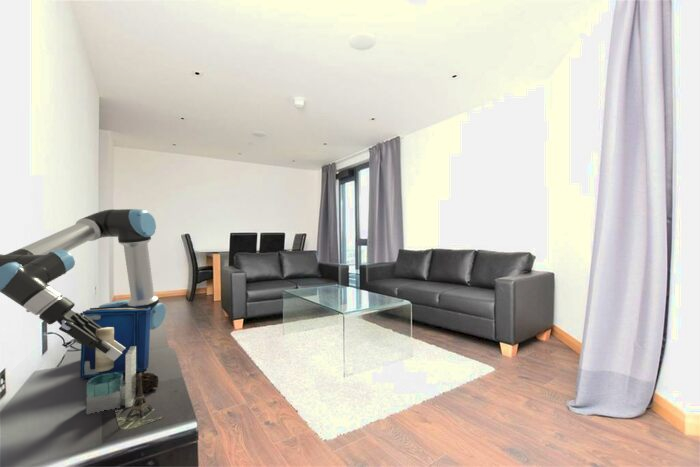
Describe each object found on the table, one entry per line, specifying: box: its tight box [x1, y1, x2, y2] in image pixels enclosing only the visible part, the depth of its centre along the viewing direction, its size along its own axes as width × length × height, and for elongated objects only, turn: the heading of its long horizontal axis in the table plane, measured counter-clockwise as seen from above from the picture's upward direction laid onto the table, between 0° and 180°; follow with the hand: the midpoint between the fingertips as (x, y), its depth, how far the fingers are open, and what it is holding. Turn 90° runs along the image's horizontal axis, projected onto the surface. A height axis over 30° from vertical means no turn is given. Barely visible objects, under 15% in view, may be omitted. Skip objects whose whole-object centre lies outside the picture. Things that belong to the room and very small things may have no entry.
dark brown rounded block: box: [136, 371, 160, 393], centre depth 105 cm, size 18×7×6 cm, turn 110°
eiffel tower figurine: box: [114, 372, 163, 430], centre depth 91 cm, size 15×10×13 cm
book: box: [79, 306, 151, 379], centre depth 120 cm, size 22×7×25 cm, turn 108°
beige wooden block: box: [95, 327, 114, 372], centre depth 96 cm, size 4×4×12 cm
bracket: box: [85, 346, 137, 415], centre depth 97 cm, size 8×11×16 cm
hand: (119, 354), depth 97 cm, fingers closed on beige wooden block, 4 cm apart
